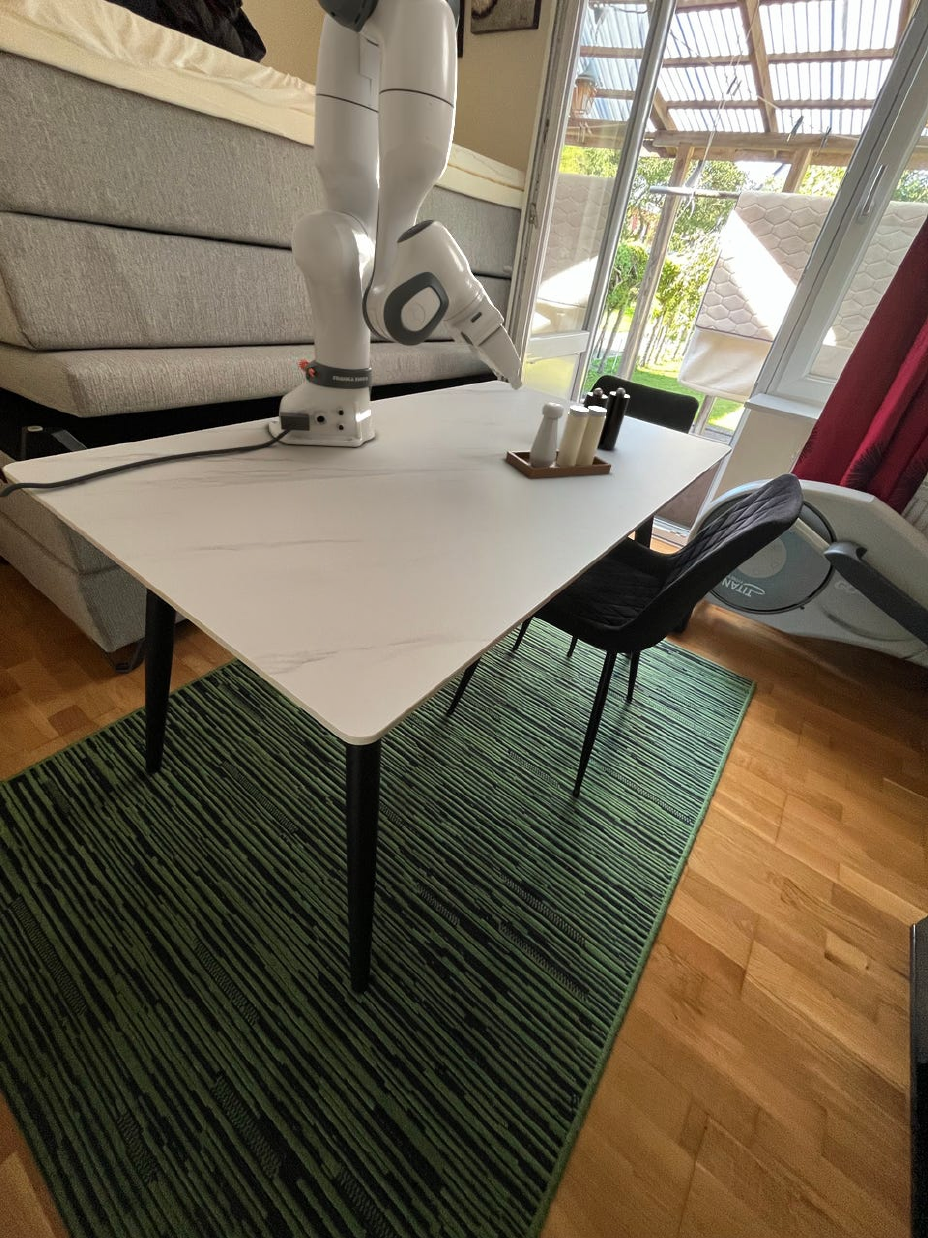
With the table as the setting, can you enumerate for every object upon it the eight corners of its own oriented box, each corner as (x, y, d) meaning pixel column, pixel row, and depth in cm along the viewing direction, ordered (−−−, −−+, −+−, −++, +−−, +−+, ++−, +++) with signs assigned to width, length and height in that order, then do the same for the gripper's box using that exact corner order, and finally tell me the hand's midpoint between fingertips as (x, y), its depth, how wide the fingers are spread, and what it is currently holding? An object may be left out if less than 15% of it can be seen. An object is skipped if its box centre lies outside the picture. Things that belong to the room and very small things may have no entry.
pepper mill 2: (603, 450, 131) (621, 390, 123) (590, 443, 135) (607, 384, 126) (617, 450, 133) (636, 391, 125) (605, 443, 137) (622, 385, 128)
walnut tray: (530, 478, 108) (533, 469, 107) (505, 459, 115) (507, 451, 114) (608, 473, 118) (611, 465, 116) (580, 456, 125) (583, 448, 124)
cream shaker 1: (563, 468, 115) (577, 411, 107) (551, 461, 118) (565, 405, 110) (578, 467, 117) (594, 411, 109) (567, 460, 120) (581, 405, 112)
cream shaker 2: (580, 467, 117) (596, 411, 110) (569, 460, 120) (583, 405, 113) (595, 466, 119) (611, 411, 112) (584, 459, 122) (599, 405, 115)
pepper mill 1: (580, 453, 127) (597, 391, 119) (568, 446, 130) (584, 385, 122) (596, 452, 129) (614, 391, 121) (584, 445, 133) (600, 385, 124)
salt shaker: (552, 463, 116) (567, 403, 109) (554, 472, 112) (569, 410, 104) (527, 459, 116) (540, 398, 109) (527, 467, 112) (540, 405, 104)
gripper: (441, 319, 100) (479, 377, 109) (473, 341, 85) (515, 406, 94) (466, 296, 99) (503, 356, 108) (503, 313, 84) (542, 382, 93)
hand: (509, 380), depth 101 cm, fingers open, 8 cm apart
